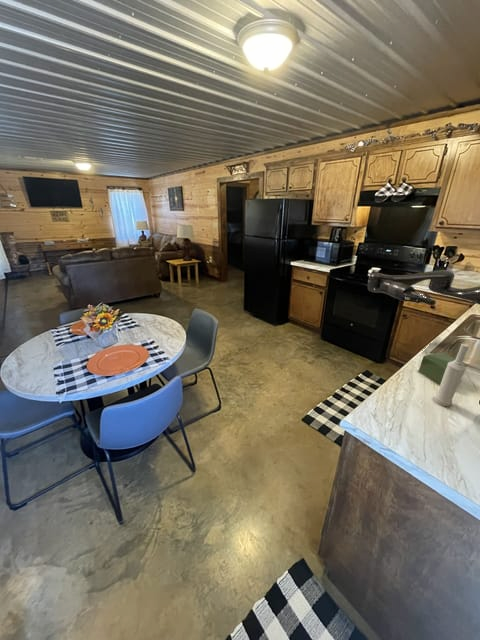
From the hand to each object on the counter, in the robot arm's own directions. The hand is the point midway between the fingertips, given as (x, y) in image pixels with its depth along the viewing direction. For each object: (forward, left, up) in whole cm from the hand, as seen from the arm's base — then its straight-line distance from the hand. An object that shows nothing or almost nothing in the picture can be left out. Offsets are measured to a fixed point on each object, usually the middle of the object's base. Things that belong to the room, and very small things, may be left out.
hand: (434, 303), depth 113 cm
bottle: (+22, +18, -30) cm, 41 cm away
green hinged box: (+4, +11, -30) cm, 32 cm away
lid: (+4, +11, -22) cm, 25 cm away
